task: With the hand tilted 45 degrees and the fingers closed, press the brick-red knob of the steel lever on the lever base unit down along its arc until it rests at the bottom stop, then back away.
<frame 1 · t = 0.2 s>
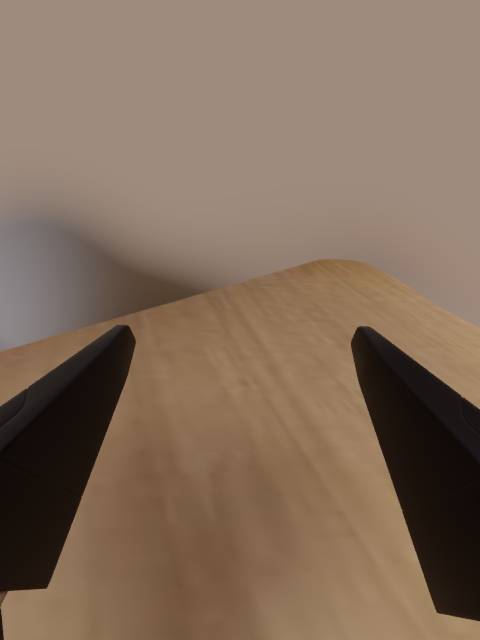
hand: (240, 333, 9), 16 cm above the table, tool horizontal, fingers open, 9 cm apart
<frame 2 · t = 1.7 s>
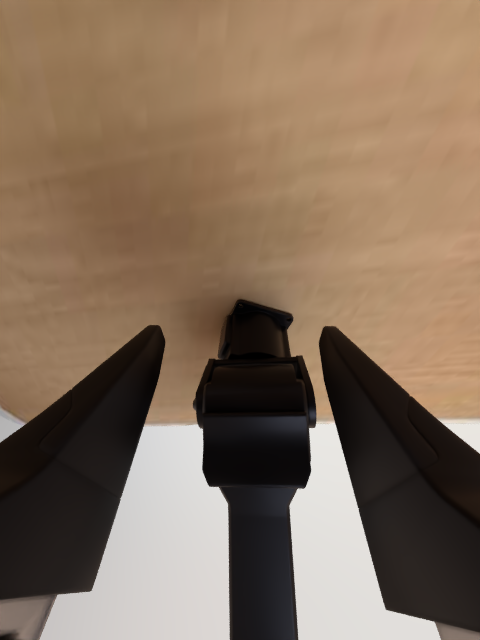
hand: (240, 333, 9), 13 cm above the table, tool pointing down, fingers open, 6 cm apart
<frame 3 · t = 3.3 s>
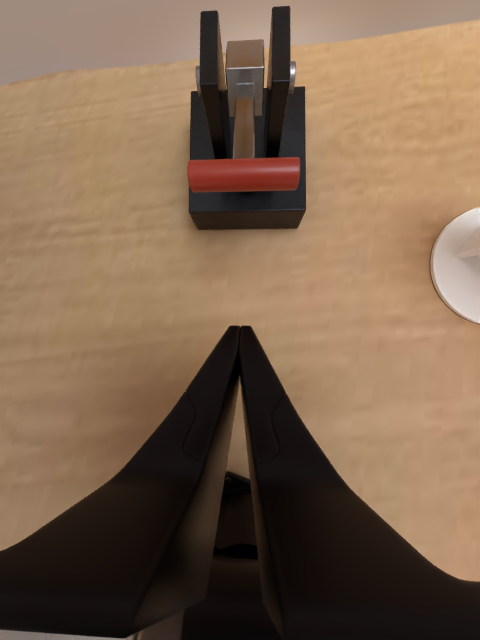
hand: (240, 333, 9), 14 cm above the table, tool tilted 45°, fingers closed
lever base unit: (247, 175, 24), on the table
switch lever: (244, 119, 13), point 10 cm above the table, hinge at 16.0°
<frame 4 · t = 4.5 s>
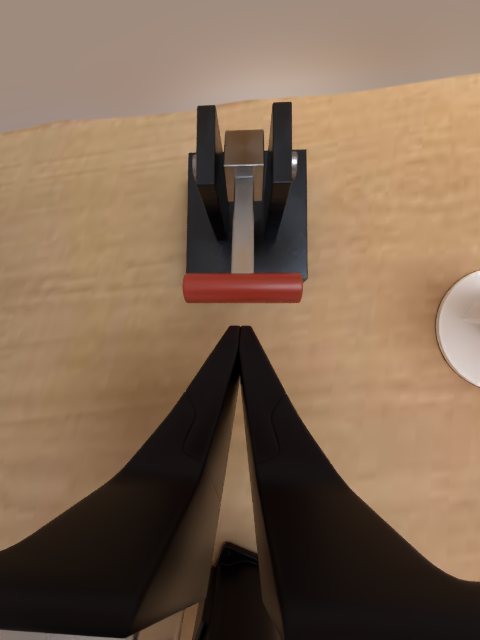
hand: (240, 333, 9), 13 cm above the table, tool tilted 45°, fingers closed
lever base unit: (247, 232, 23), on the table
switch lever: (243, 216, 13), point 10 cm above the table, hinge at 16.0°
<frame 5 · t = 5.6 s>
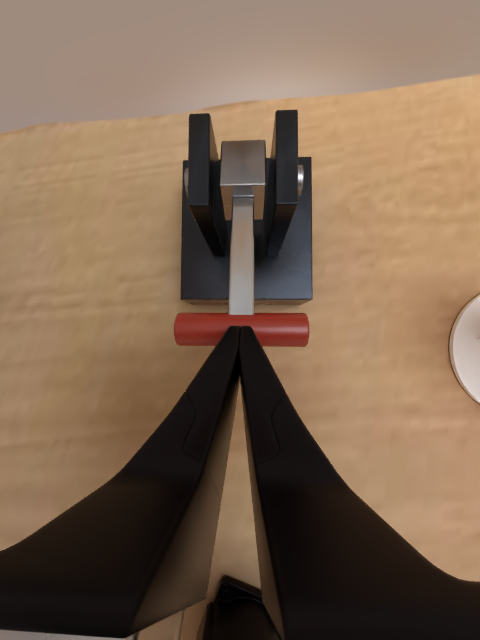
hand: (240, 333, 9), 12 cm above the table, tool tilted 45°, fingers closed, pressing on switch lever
lever base unit: (246, 244, 21), on the table
switch lever: (242, 242, 11), point 10 cm above the table, hinge at 13.7°, touching gripper
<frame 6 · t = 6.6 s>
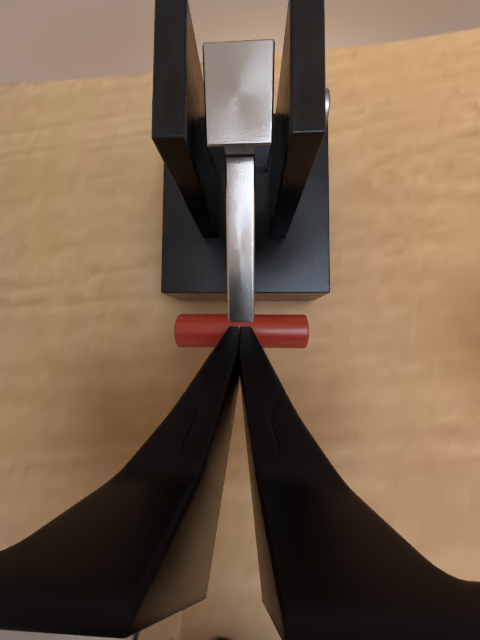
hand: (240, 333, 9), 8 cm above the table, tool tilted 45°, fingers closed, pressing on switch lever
lever base unit: (245, 227, 17), on the table
switch lever: (240, 225, 9), point 8 cm above the table, hinge at -14.9°, touching gripper
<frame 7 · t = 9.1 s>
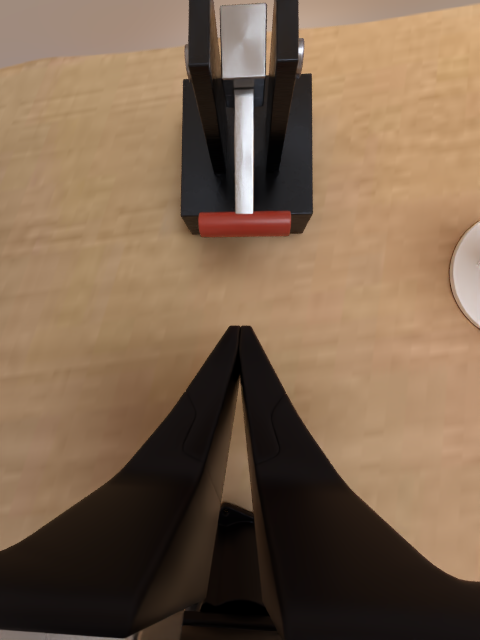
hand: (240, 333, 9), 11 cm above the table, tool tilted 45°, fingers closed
lever base unit: (247, 174, 21), on the table
switch lever: (244, 142, 13), point 8 cm above the table, hinge at -17.7°
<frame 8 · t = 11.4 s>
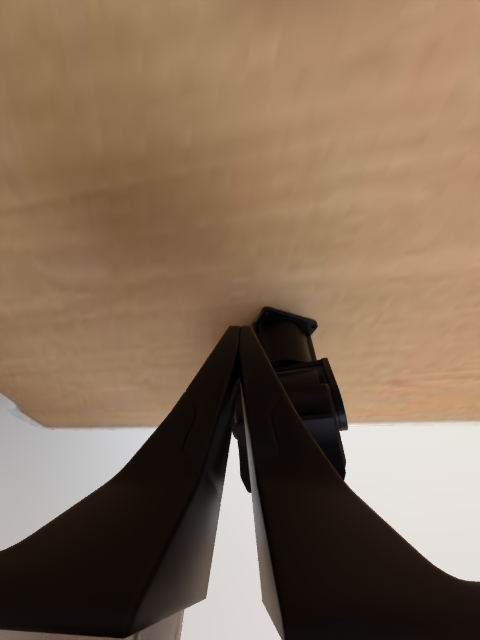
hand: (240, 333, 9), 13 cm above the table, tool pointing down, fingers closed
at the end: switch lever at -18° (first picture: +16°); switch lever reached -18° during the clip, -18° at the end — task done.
